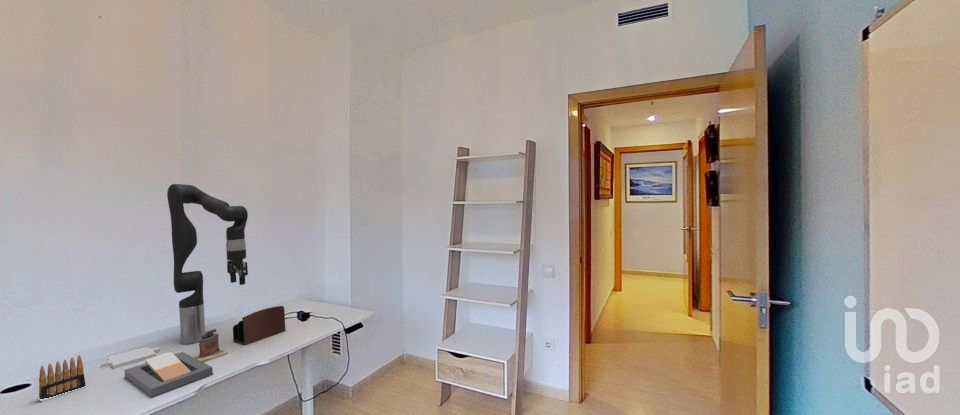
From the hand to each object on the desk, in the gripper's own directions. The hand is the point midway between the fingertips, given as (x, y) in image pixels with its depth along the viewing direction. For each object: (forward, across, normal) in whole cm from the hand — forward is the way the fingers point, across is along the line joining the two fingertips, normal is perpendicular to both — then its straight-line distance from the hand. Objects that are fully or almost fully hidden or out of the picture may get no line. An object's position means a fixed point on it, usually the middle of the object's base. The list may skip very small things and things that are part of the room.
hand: (237, 283), depth 168 cm
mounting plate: (+29, -24, -32) cm, 49 cm away
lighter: (+28, +2, -14) cm, 31 cm away
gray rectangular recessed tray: (+28, +10, -30) cm, 42 cm away
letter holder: (+28, 0, +9) cm, 30 cm away
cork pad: (+28, +3, -14) cm, 31 cm away
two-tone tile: (+25, +10, -30) cm, 40 cm away
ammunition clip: (+28, -8, -54) cm, 61 cm away
